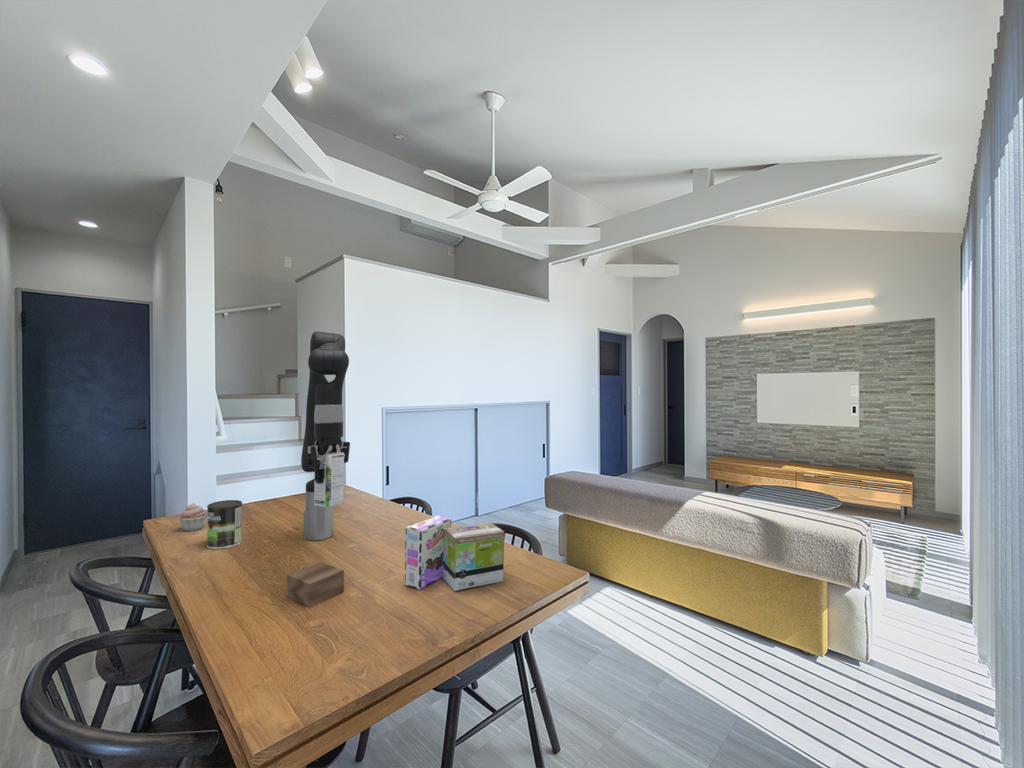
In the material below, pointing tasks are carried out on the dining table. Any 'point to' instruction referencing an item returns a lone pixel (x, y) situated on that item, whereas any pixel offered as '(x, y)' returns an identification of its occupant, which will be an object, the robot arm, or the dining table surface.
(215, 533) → the coffee can
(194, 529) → the cupcake
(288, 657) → the dining table surface
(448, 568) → the tea box
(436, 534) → the candy box
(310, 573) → the walnut block
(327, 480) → the syrup box
